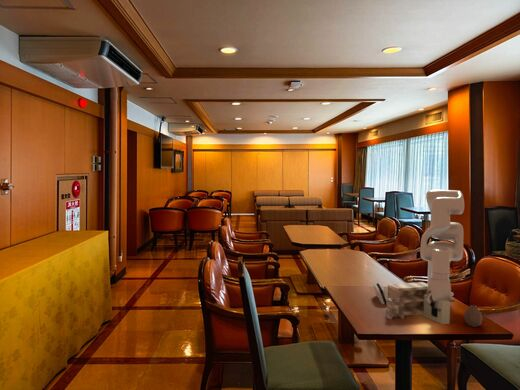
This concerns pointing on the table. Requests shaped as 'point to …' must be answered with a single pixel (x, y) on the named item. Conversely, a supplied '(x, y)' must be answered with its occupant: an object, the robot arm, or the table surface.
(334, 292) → the table surface
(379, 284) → the white electronic device
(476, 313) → the vase
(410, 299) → the cabinet
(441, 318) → the pale white box
